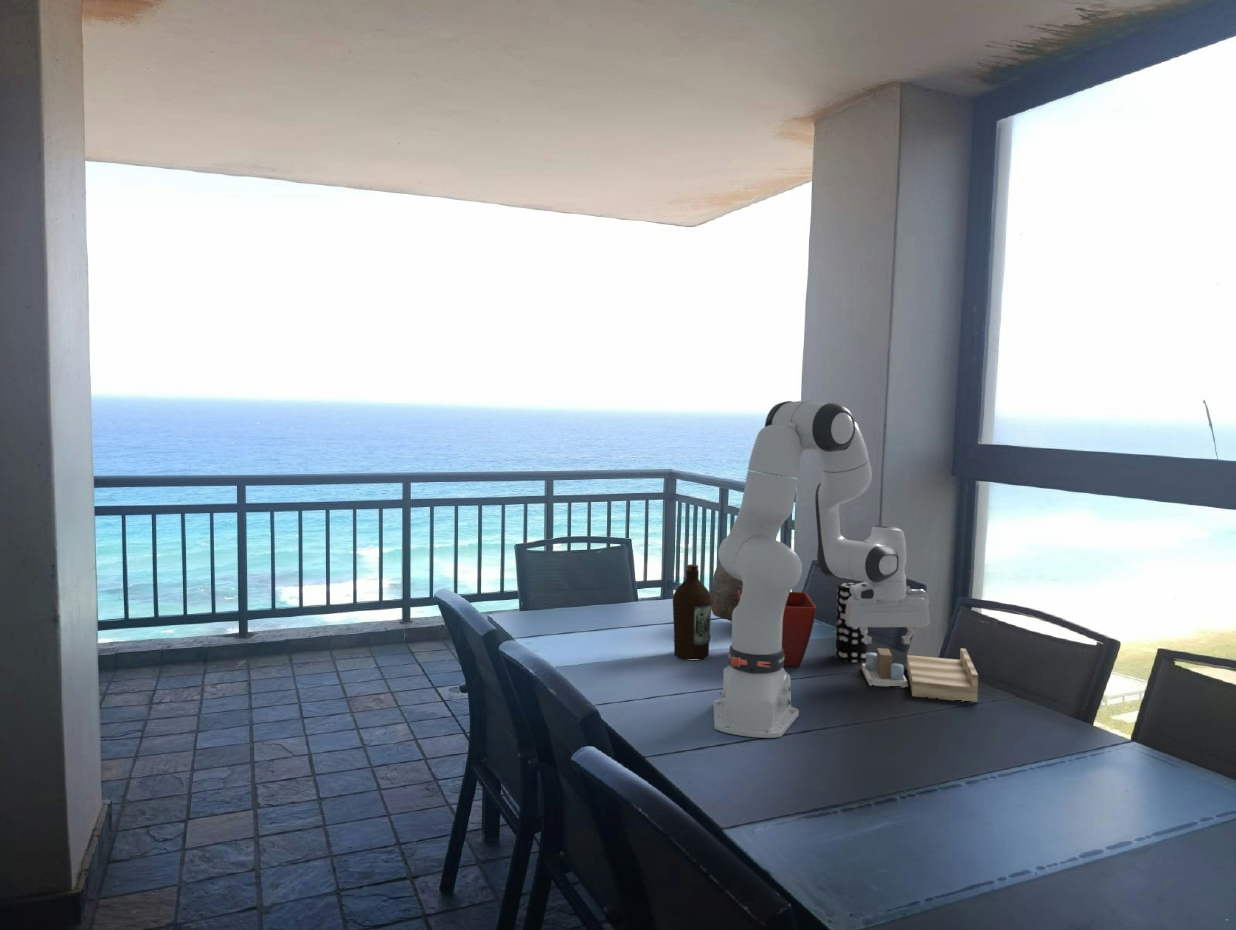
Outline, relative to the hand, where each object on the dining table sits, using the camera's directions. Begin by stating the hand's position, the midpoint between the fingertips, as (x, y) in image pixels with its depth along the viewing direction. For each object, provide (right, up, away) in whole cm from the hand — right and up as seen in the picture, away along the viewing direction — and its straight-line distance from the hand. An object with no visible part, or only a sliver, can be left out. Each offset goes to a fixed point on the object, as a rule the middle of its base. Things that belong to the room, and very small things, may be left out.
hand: (886, 643), depth 196 cm
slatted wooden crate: (+11, -9, -4) cm, 15 cm away
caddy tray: (-1, -9, 0) cm, 9 cm away
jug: (-28, -6, +47) cm, 55 cm away
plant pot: (-25, -8, +15) cm, 31 cm away
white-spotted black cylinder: (-4, -8, +17) cm, 19 cm away
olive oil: (-48, -8, +18) cm, 51 cm away
